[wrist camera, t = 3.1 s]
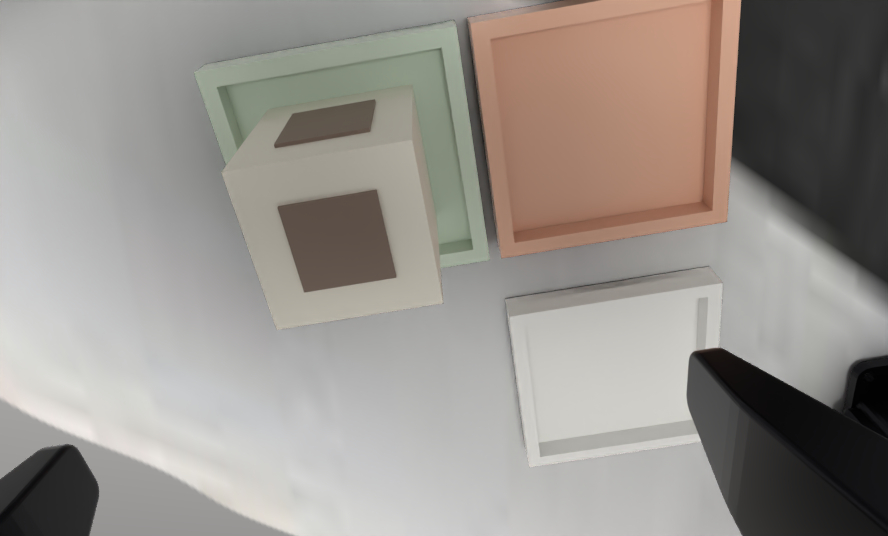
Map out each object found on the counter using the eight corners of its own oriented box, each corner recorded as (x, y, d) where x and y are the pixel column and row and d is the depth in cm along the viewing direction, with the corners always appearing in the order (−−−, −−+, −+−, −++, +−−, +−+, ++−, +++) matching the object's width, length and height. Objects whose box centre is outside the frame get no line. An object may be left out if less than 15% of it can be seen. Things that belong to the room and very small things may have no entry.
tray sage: (454, 19, 19) (456, 26, 18) (486, 244, 23) (490, 260, 22) (205, 64, 19) (193, 72, 18) (277, 278, 23) (271, 295, 22)
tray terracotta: (723, -29, 19) (742, -25, 18) (711, 207, 22) (726, 221, 21) (467, 17, 19) (470, 23, 18) (497, 242, 23) (501, 258, 22)
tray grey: (709, 266, 23) (723, 282, 22) (701, 419, 27) (713, 440, 26) (505, 299, 24) (509, 316, 23) (524, 446, 27) (529, 467, 26)
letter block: (411, 80, 19) (411, 136, 14) (436, 216, 22) (443, 305, 17) (267, 105, 19) (218, 169, 15) (306, 238, 22) (275, 332, 17)
